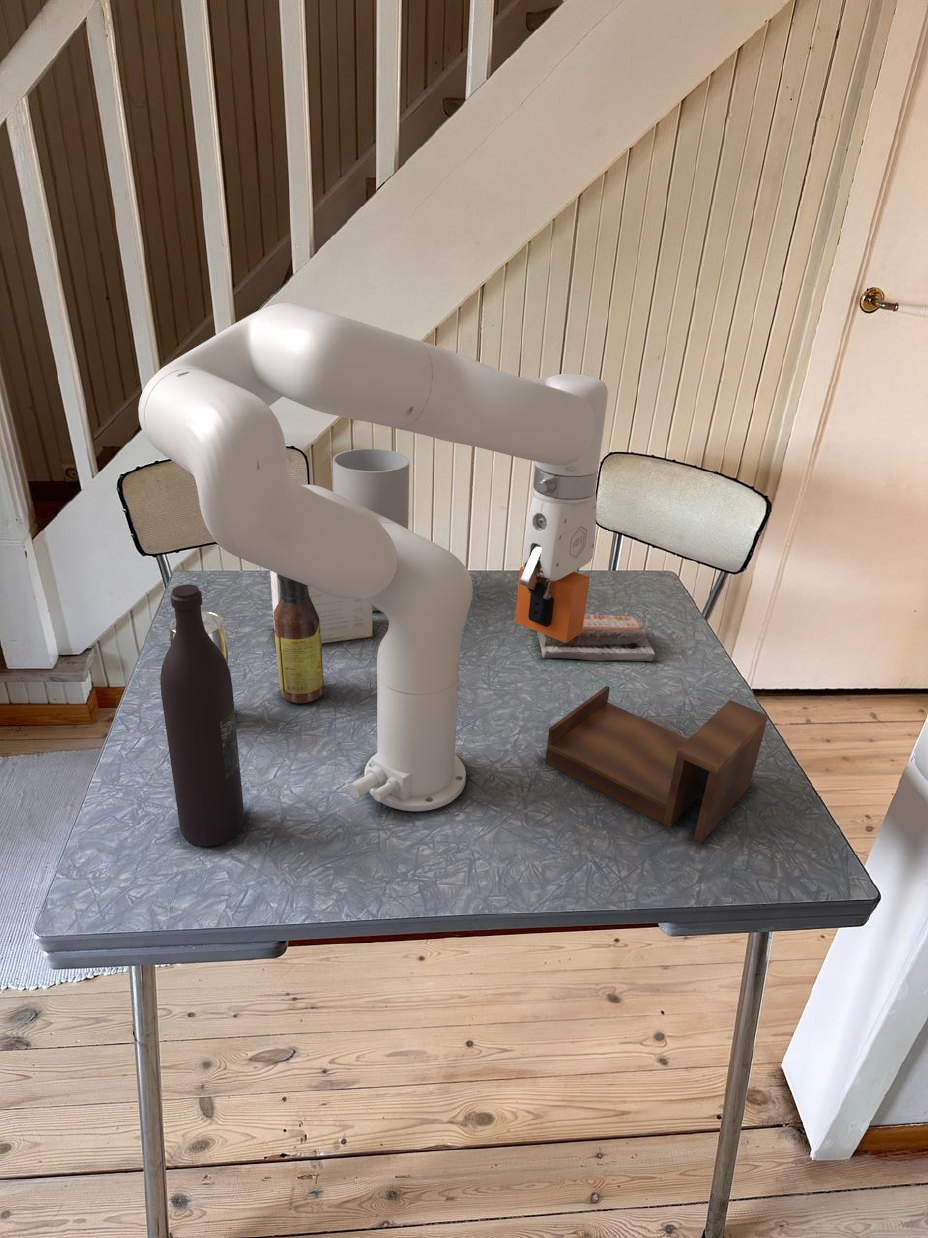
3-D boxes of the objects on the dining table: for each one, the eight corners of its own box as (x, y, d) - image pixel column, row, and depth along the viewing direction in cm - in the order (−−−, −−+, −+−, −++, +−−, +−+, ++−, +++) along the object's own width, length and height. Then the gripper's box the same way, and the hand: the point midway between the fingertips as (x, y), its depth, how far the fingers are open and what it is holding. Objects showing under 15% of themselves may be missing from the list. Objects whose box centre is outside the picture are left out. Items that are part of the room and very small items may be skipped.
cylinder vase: (332, 583, 153) (329, 449, 141) (400, 579, 156) (402, 447, 144) (339, 615, 142) (336, 473, 130) (412, 610, 145) (415, 470, 133)
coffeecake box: (362, 617, 142) (361, 508, 133) (373, 637, 136) (373, 525, 127) (272, 629, 137) (265, 516, 128) (280, 650, 131) (273, 534, 122)
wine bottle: (240, 847, 93) (217, 606, 79) (174, 849, 92) (139, 606, 78) (248, 805, 99) (227, 574, 85) (186, 807, 98) (155, 574, 84)
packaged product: (544, 633, 130) (537, 604, 139) (541, 659, 132) (535, 629, 141) (659, 636, 131) (645, 607, 140) (654, 663, 133) (640, 632, 142)
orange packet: (566, 643, 107) (573, 586, 103) (514, 622, 111) (519, 567, 107) (582, 632, 109) (589, 576, 106) (531, 612, 114) (537, 558, 110)
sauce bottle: (332, 694, 121) (329, 568, 111) (297, 711, 117) (290, 582, 107) (304, 676, 125) (298, 553, 115) (269, 692, 120) (260, 566, 111)
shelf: (700, 844, 97) (719, 768, 92) (544, 762, 109) (553, 691, 104) (749, 787, 107) (768, 715, 102) (601, 718, 119) (611, 651, 114)
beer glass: (217, 699, 118) (206, 604, 111) (244, 721, 114) (235, 624, 107) (171, 718, 114) (157, 620, 107) (197, 741, 109) (185, 641, 102)
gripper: (553, 506, 93) (537, 649, 101) (626, 474, 105) (607, 604, 113) (498, 490, 97) (488, 629, 105) (575, 460, 109) (560, 587, 117)
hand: (549, 615), depth 109 cm, fingers closed on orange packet, 4 cm apart
